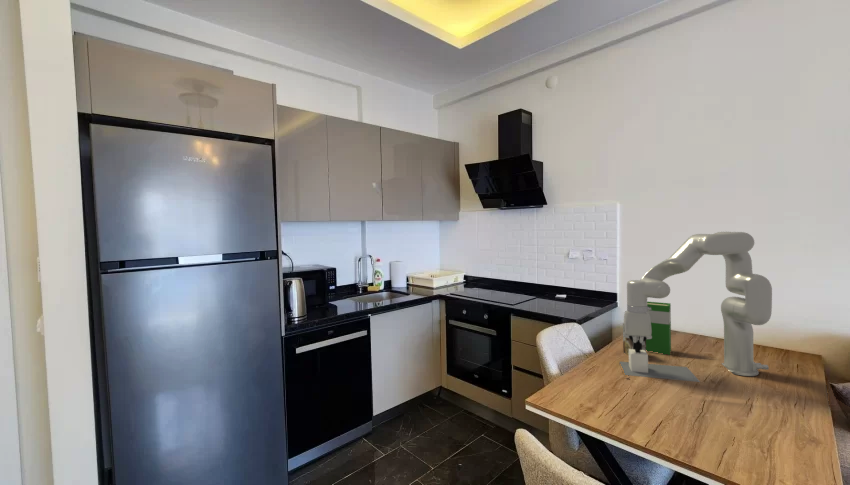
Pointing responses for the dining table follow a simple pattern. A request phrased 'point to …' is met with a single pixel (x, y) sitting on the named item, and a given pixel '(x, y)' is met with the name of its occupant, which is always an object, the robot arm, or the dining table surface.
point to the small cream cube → (638, 361)
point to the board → (662, 372)
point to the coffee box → (631, 344)
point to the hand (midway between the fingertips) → (637, 351)
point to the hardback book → (660, 328)
